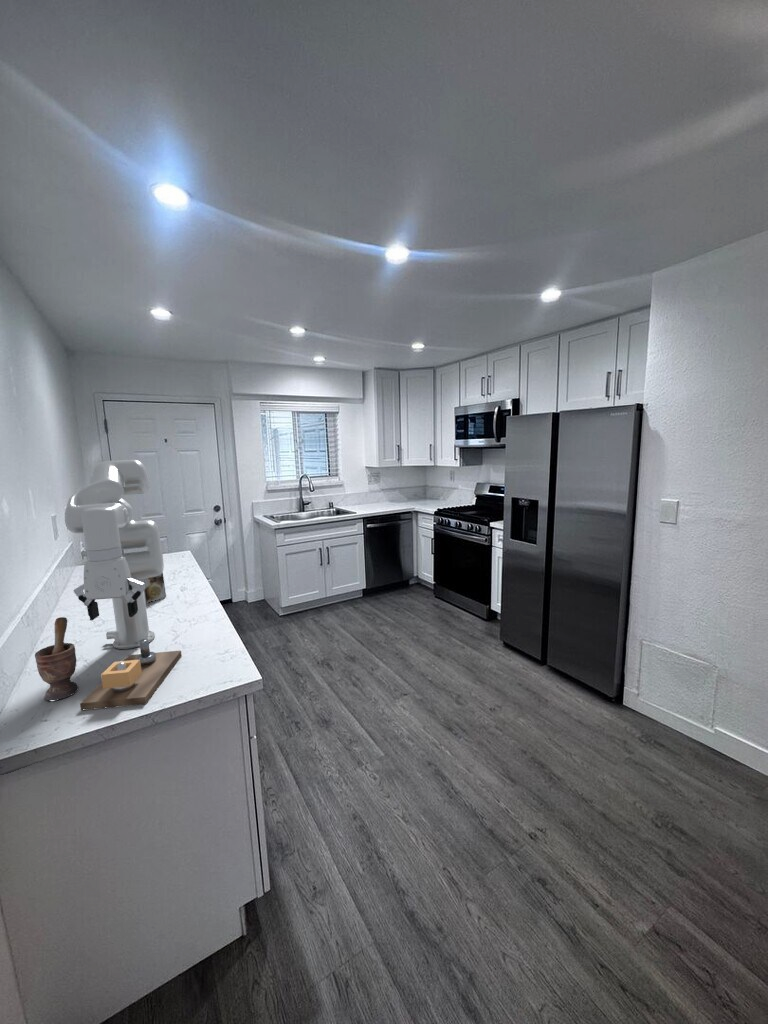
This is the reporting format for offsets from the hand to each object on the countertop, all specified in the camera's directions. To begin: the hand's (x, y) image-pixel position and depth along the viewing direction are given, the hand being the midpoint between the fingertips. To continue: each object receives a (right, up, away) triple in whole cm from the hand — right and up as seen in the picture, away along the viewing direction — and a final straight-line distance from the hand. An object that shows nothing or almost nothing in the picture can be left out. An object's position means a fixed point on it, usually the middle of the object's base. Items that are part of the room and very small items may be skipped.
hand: (114, 616), depth 113 cm
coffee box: (-33, -12, +79) cm, 87 cm away
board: (0, -21, +10) cm, 23 cm away
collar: (+1, -18, +3) cm, 18 cm away
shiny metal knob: (-1, -18, +17) cm, 24 cm away
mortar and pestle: (-18, -23, +6) cm, 30 cm away
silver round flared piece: (+1, -20, +3) cm, 20 cm away
